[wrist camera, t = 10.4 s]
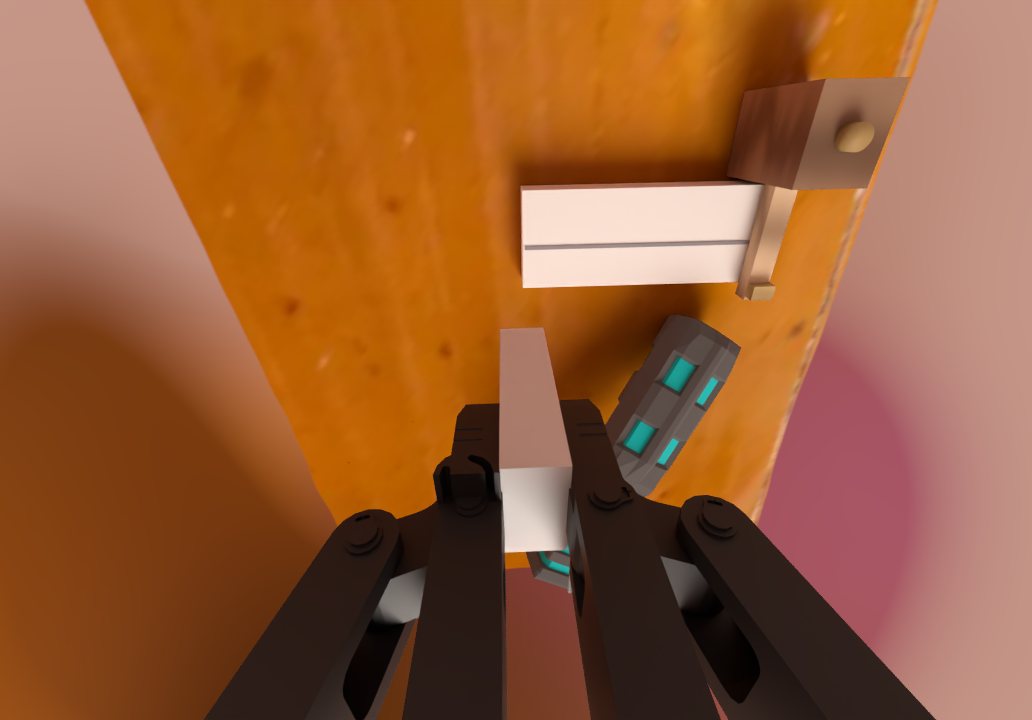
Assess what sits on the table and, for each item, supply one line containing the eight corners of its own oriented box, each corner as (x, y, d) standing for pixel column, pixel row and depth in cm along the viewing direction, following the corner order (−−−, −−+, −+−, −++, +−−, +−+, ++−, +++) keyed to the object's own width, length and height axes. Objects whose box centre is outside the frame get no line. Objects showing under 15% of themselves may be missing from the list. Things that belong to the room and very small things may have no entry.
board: (520, 185, 34) (522, 190, 31) (776, 179, 34) (799, 184, 32) (521, 276, 38) (523, 288, 35) (750, 270, 38) (769, 281, 36)
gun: (503, 499, 51) (530, 593, 37) (624, 296, 47) (706, 314, 33) (545, 516, 53) (587, 612, 39) (665, 322, 49) (759, 350, 35)
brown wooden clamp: (744, 91, 31) (838, 76, 22) (808, 89, 31) (926, 75, 22) (701, 281, 39) (759, 326, 30) (752, 280, 39) (824, 324, 30)
